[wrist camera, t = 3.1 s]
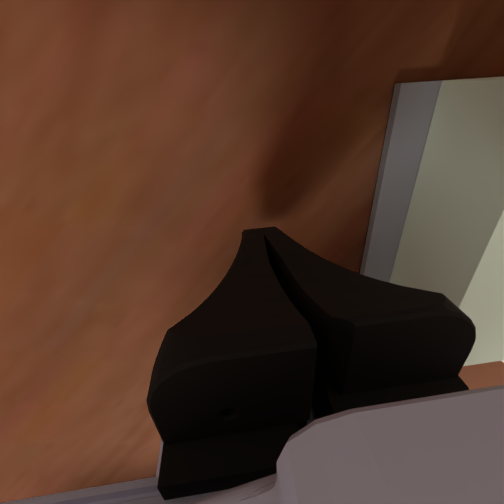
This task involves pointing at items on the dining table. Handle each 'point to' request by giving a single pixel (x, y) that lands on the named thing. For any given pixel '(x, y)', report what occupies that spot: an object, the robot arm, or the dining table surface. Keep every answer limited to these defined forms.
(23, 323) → the dining table surface
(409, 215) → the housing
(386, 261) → the pattern mat
